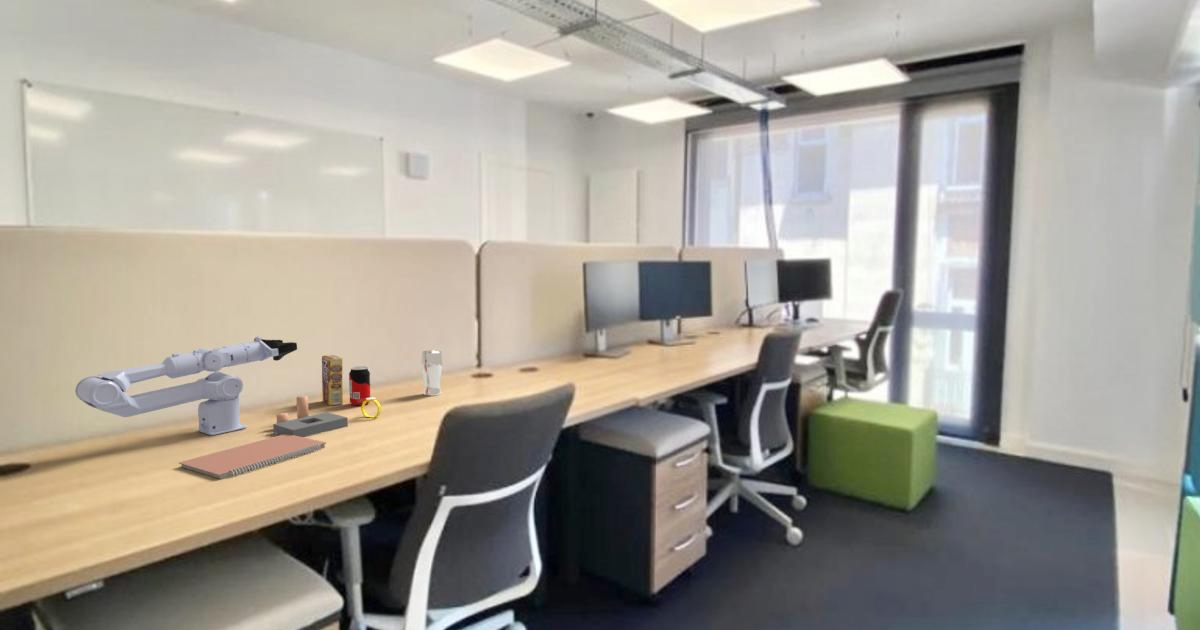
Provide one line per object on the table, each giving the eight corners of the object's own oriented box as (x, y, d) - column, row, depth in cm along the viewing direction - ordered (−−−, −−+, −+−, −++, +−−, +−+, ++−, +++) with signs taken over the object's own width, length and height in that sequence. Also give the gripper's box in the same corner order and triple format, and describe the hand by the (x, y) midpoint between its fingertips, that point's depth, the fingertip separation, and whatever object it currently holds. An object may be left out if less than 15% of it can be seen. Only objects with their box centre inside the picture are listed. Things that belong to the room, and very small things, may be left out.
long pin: (301, 422, 185) (300, 398, 184) (295, 420, 187) (294, 397, 186) (310, 420, 188) (309, 396, 187) (305, 418, 189) (304, 395, 189)
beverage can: (366, 406, 204) (365, 369, 203) (346, 406, 204) (345, 369, 203) (373, 402, 211) (372, 366, 209) (354, 401, 211) (353, 366, 210)
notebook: (222, 483, 138) (222, 474, 138) (178, 469, 146) (178, 461, 146) (329, 449, 162) (329, 442, 161) (286, 439, 170) (286, 432, 170)
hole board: (293, 439, 168) (293, 430, 168) (273, 432, 174) (273, 423, 174) (347, 426, 181) (347, 417, 181) (327, 420, 187) (327, 412, 187)
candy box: (344, 404, 207) (342, 357, 206) (330, 406, 205) (328, 359, 203) (335, 399, 214) (334, 354, 213) (322, 400, 211) (320, 355, 210)
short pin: (280, 430, 177) (280, 416, 176) (274, 428, 178) (274, 414, 178) (291, 428, 179) (290, 414, 179) (285, 426, 181) (284, 412, 180)
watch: (360, 418, 191) (358, 399, 190) (365, 416, 193) (364, 397, 193) (378, 418, 189) (376, 399, 189) (383, 416, 192) (381, 397, 191)
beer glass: (446, 393, 224) (446, 351, 223) (431, 397, 218) (431, 354, 217) (432, 391, 228) (432, 349, 227) (417, 394, 222) (417, 352, 221)
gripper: (254, 342, 175) (301, 333, 186) (228, 337, 183) (274, 329, 194) (257, 367, 176) (303, 357, 187) (231, 361, 184) (277, 352, 195)
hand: (289, 344), depth 190 cm, fingers open, 7 cm apart
